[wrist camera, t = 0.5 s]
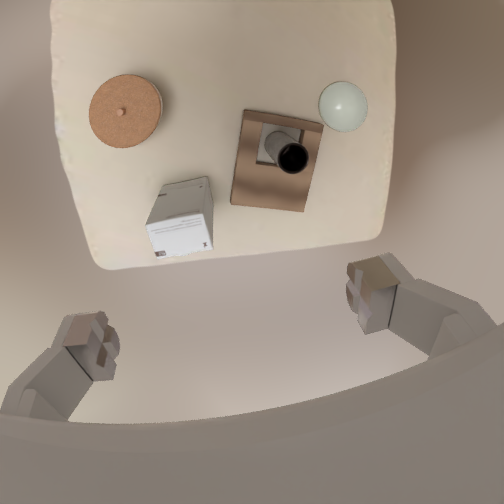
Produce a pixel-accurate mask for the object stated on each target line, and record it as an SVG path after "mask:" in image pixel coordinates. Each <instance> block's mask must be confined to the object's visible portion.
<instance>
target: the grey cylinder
mask: <svg viewBox="0 0 504 504" xmlns="http://www.w3.org/2000/svg"><path fill="white" fill-rule="evenodd" d="M265 149H266V151H267V153H268V154H269V155H270V156H271V158H272V159H273V160H274V161H275V163H276V164H277V165H278V166H279V167H280V169H281V170H282V171H284V172H285V173H288V174H297V173H300V172H301V171H303V170H304V169H305V168H306V167H307V165H308V162H309V153H308V151H307V149H306V148H305V147H304V146H303V145H302V144H300V143H299V142H297V141H296V140H294V139H293V138H291V137H290V136H288V135H287V134H285V133H283V132H274V133H271V134H270V135H269V136H268V137H267V138H266V140H265Z"/></svg>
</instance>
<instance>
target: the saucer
mask: <svg viewBox="0 0 504 504" xmlns="http://www.w3.org/2000/svg"><path fill="white" fill-rule="evenodd" d="M367 110H368V106H367V100H366V98H365V96H364V94H363V92H362V91H361V90H360V89H359V88H358V87H357V86H355V85H353V84H351V83H348V82H336V83H333V84H331V85H329V86H328V87H326V88H325V89H324V91H323V92H322V94H321V96H320V99H319V112H320V115H321V118H322V119H323V121H324V122H325V123H326V124H327V125H328V126H329V127H331V128H332V129H334V130H337V131H341V132H349V131H352V130H355V129H357V128H358V127H359V126H360V125H361V124H362V123H363V122H364V120H365V118H366V115H367Z"/></svg>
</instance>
